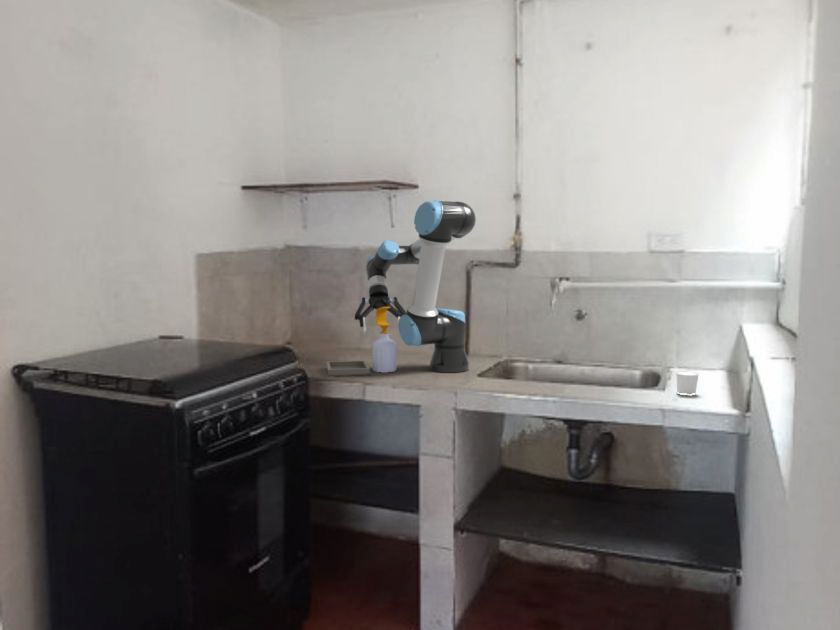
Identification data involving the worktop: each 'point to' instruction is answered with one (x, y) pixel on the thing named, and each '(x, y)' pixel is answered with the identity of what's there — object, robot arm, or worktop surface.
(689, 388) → the white cup
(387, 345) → the soap bottle
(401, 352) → the worktop surface
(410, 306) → the robot arm
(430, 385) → the worktop surface
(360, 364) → the tray
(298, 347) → the worktop surface
